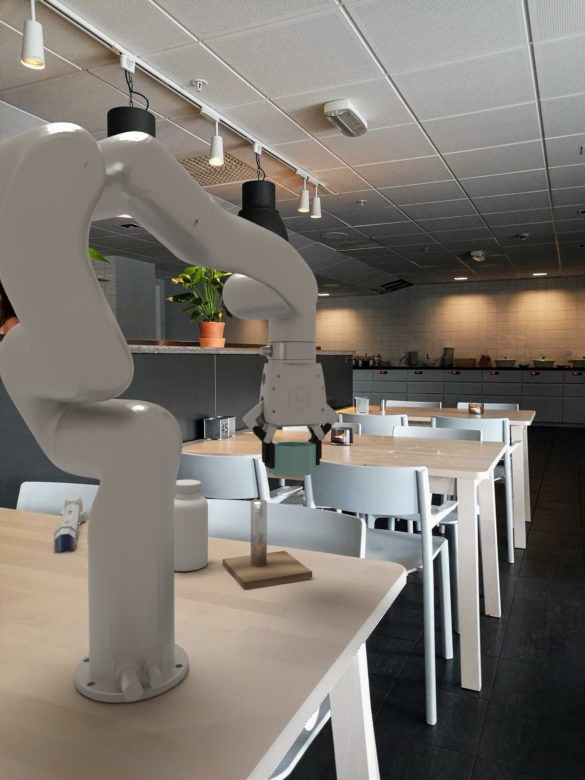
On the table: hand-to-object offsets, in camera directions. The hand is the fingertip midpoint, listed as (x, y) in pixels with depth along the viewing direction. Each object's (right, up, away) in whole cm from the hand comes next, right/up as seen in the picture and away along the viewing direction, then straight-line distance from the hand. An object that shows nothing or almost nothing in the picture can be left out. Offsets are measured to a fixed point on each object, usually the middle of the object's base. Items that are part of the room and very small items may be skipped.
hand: (292, 464), depth 93 cm
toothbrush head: (-47, -19, +30) cm, 59 cm away
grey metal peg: (-6, -18, +8) cm, 21 cm away
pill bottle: (-19, -20, +11) cm, 29 cm away
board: (-4, -20, +8) cm, 21 cm away
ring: (0, -1, 0) cm, 1 cm away
